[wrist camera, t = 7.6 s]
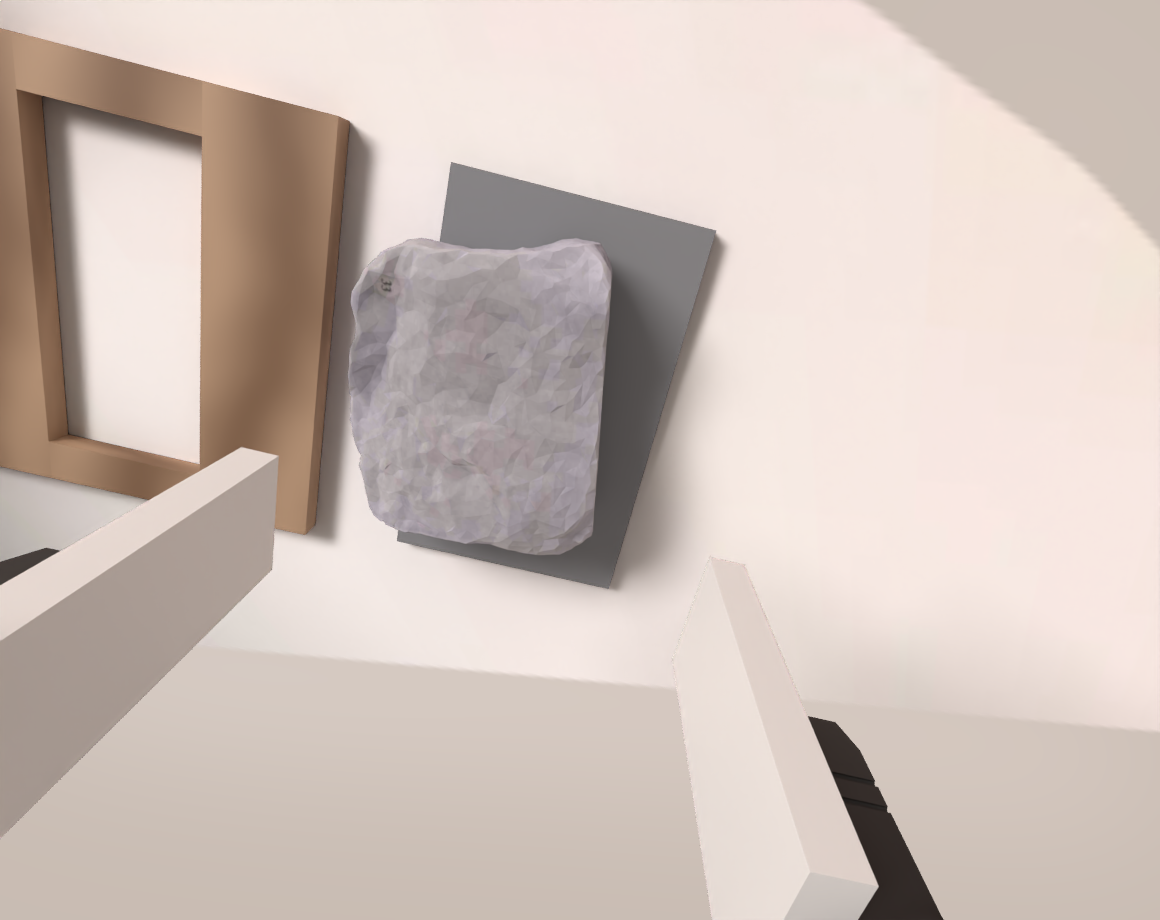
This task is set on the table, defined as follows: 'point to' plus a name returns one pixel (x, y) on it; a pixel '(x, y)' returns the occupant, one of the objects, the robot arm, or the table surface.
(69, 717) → the robot arm
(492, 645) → the table surface
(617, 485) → the mat
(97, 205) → the table surface
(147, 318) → the table surface
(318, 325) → the pocket board
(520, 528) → the stone block
